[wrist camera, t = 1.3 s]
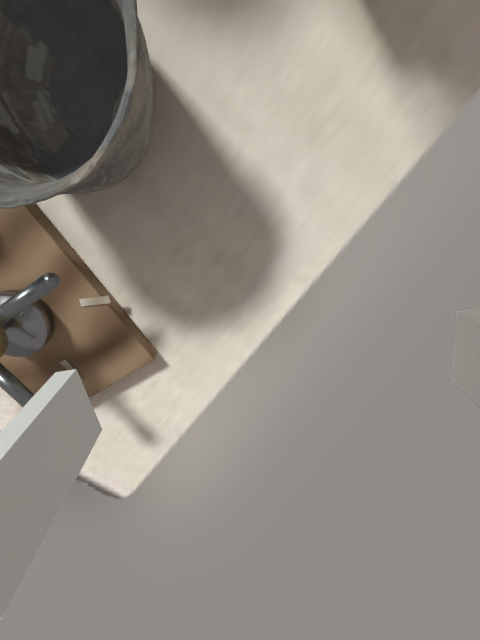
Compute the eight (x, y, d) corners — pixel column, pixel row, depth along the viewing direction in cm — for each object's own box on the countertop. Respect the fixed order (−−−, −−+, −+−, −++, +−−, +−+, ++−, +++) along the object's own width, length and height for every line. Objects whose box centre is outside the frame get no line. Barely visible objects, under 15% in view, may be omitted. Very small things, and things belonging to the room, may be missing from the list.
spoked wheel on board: (-127, 249, 35) (-213, 266, 28) (-3, 144, 31) (-68, 135, 24) (50, 414, 44) (16, 456, 37) (162, 348, 40) (148, 382, 33)
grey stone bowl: (-62, -7, 27) (-374, -202, 13) (141, -78, 25) (30, -383, 12) (42, 213, 34) (-90, 237, 20) (206, 167, 32) (185, 159, 18)
